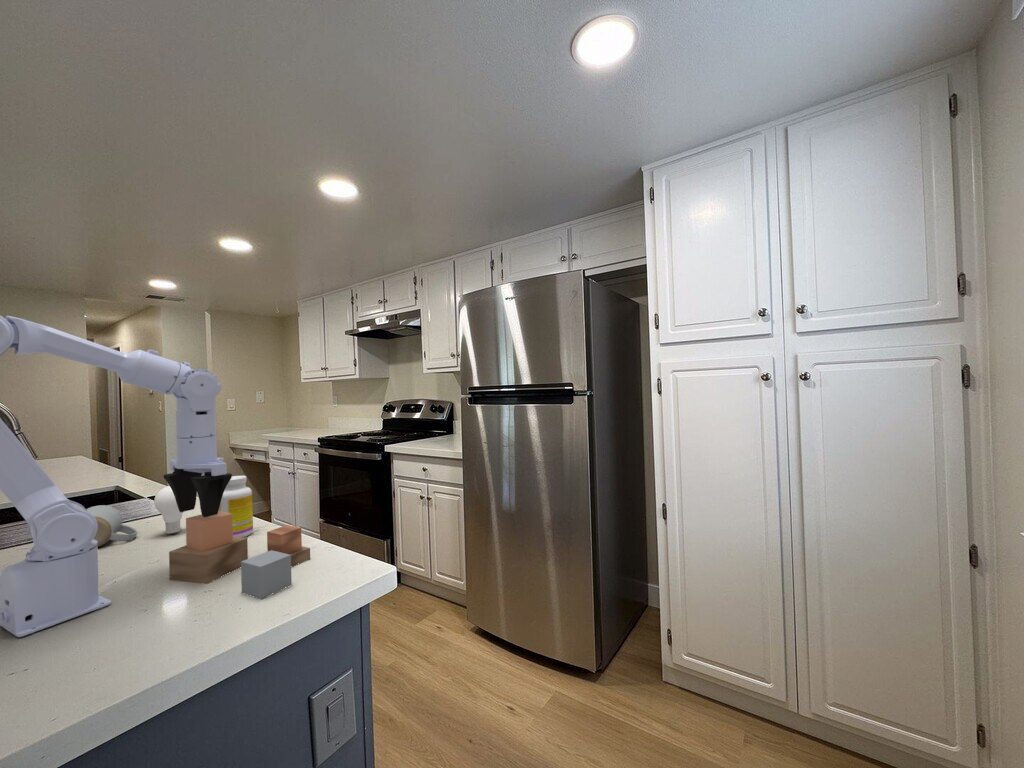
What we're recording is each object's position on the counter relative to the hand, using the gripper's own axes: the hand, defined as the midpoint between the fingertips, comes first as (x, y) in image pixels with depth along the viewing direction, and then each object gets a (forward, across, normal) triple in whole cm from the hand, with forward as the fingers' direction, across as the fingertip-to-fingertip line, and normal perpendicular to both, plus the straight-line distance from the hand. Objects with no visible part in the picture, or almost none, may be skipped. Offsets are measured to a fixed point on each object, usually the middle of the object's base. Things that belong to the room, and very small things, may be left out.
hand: (198, 513), depth 75 cm
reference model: (+10, -11, -9) cm, 17 cm away
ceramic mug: (+11, +36, +1) cm, 38 cm away
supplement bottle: (+10, +13, -14) cm, 22 cm away
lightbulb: (+10, +28, -8) cm, 31 cm away
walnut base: (+11, -2, -1) cm, 11 cm away
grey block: (+10, -18, -1) cm, 21 cm away
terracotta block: (+6, -2, -1) cm, 6 cm away
